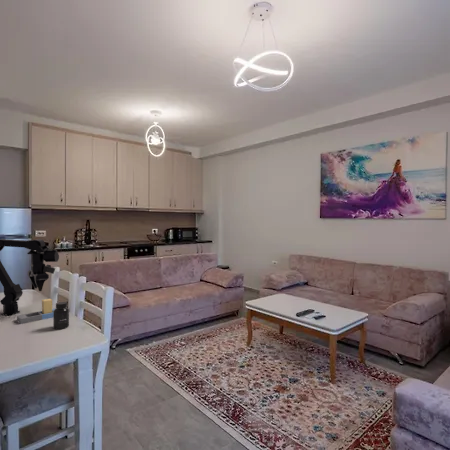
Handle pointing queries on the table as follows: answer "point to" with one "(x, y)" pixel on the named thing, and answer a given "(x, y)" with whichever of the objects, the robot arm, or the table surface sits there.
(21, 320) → the duct block
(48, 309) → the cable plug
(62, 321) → the supplement bottle
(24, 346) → the table surface
